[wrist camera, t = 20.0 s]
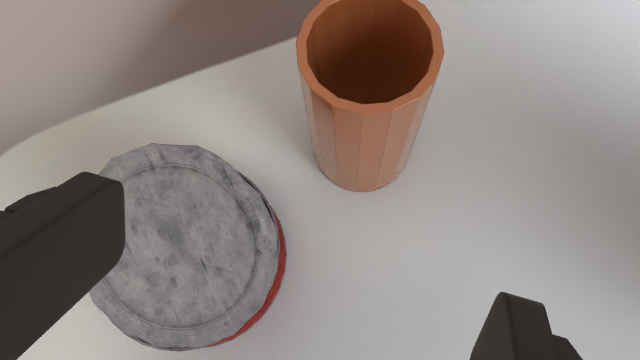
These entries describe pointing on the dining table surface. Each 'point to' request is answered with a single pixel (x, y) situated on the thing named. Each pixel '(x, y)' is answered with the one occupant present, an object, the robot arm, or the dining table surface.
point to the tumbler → (366, 85)
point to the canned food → (190, 250)
